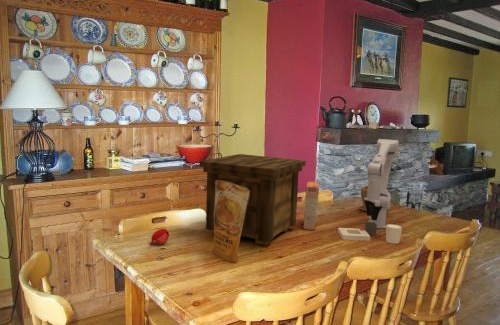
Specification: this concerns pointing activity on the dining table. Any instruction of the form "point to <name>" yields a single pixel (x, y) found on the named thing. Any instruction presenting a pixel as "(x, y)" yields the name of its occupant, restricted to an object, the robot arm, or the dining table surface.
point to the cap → (160, 236)
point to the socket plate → (353, 234)
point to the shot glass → (393, 233)
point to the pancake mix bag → (229, 218)
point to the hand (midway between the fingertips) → (371, 217)
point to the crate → (257, 192)
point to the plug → (371, 228)
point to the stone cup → (364, 195)
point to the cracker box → (311, 205)
